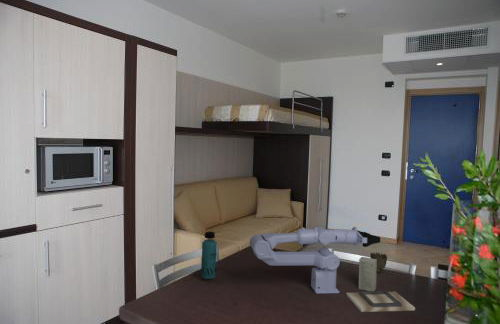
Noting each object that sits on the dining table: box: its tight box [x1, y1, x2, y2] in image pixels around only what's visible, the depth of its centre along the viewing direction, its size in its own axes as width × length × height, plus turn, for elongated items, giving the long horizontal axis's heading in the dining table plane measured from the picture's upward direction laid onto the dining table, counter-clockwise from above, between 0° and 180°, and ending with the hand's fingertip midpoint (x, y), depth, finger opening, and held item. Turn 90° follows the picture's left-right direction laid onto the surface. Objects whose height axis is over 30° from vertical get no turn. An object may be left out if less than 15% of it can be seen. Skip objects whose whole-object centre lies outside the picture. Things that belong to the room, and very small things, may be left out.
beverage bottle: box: [200, 231, 218, 280], centre depth 141 cm, size 6×7×20 cm
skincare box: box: [358, 256, 378, 291], centre depth 136 cm, size 6×4×12 cm
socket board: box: [346, 290, 416, 313], centre depth 125 cm, size 20×13×2 cm, turn 96°
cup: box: [369, 252, 388, 274], centre depth 156 cm, size 8×7×8 cm
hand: (374, 237), depth 137 cm, fingers open, 7 cm apart
